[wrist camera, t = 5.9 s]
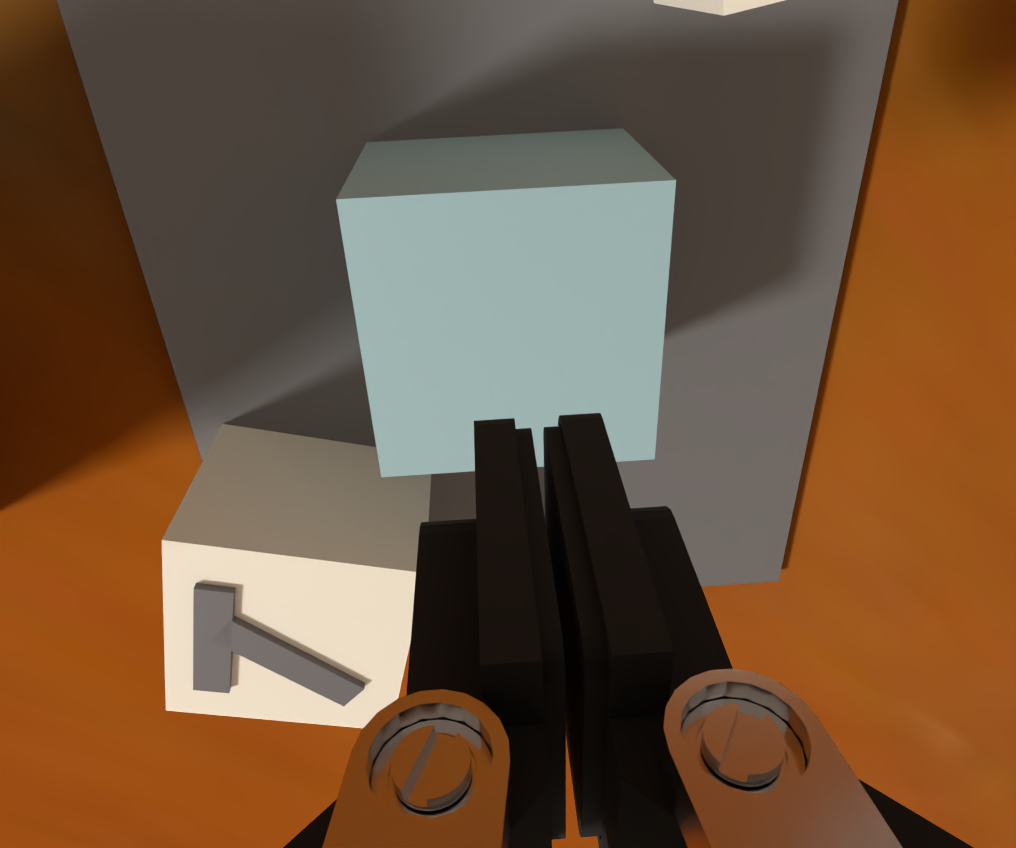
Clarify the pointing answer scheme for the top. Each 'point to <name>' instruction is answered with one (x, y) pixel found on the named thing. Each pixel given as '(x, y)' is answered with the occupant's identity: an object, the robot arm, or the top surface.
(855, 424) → the top surface
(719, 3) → the digit block one
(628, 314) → the plain block
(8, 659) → the top surface
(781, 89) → the mat
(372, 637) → the digit block seven
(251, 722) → the top surface
